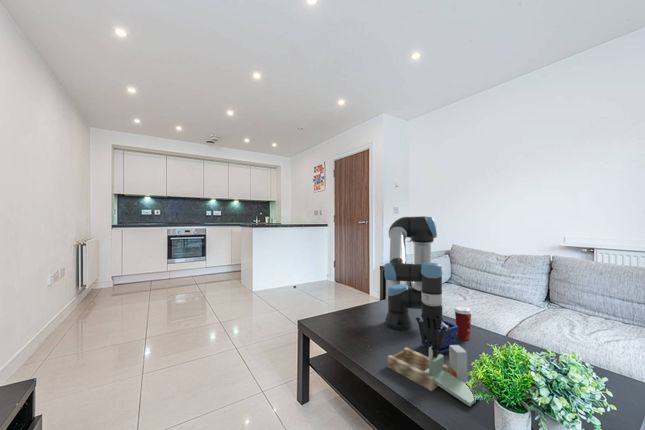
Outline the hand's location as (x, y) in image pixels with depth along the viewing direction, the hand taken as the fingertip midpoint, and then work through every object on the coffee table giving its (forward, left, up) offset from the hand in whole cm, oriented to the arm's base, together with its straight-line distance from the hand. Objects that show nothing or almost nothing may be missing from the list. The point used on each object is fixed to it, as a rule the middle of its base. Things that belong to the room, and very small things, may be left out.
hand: (432, 364), depth 102 cm
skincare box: (+6, +9, -7) cm, 12 cm away
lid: (+7, 0, -5) cm, 8 cm away
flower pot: (-12, +26, -7) cm, 30 cm away
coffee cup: (-11, +47, -7) cm, 49 cm away
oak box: (-7, 0, -6) cm, 9 cm away
